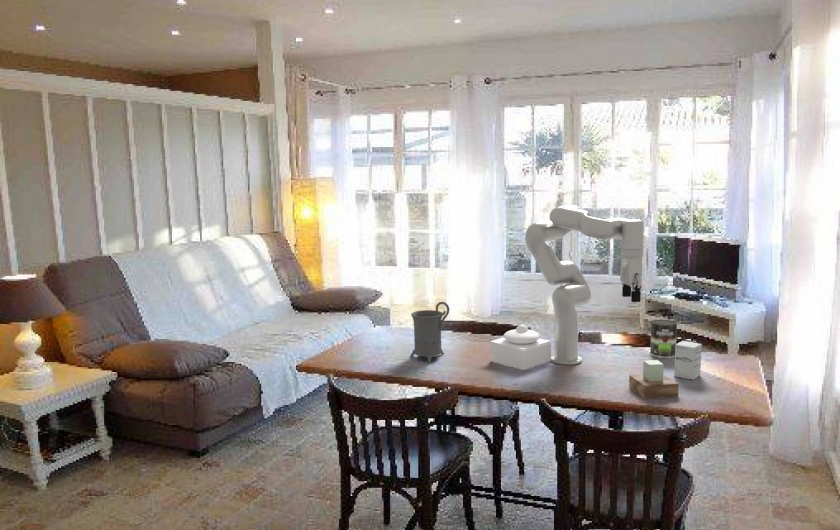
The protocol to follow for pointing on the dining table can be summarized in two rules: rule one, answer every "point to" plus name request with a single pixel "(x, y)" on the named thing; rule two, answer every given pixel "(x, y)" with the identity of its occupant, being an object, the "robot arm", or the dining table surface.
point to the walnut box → (653, 386)
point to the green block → (653, 370)
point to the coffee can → (663, 338)
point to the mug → (428, 332)
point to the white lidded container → (521, 349)
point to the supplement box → (687, 360)
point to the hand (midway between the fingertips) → (631, 299)
